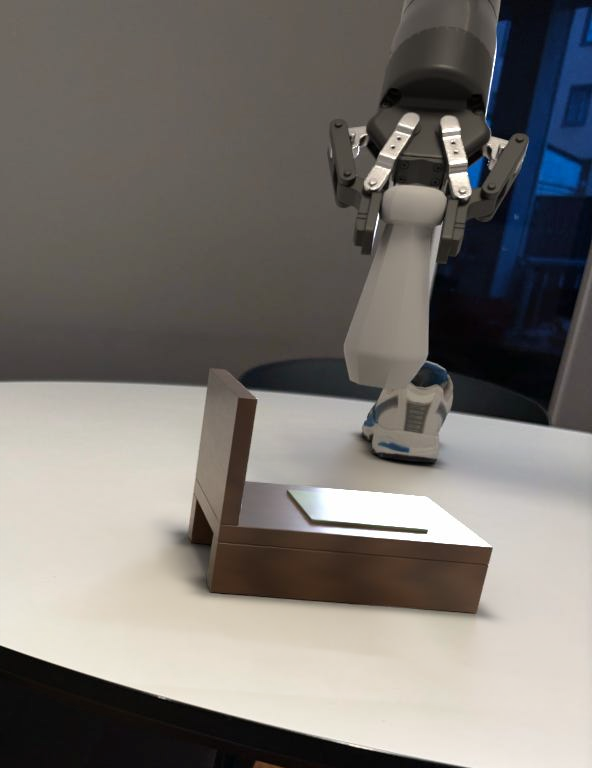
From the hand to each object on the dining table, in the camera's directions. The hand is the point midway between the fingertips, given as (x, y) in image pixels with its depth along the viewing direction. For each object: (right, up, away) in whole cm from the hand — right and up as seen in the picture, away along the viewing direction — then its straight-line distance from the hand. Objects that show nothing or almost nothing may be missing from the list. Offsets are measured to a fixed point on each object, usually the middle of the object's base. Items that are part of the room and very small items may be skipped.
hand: (405, 249), depth 67 cm
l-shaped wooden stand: (-5, -21, +5) cm, 22 cm away
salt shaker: (0, -8, +5) cm, 9 cm away
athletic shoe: (+16, -3, +56) cm, 58 cm away
